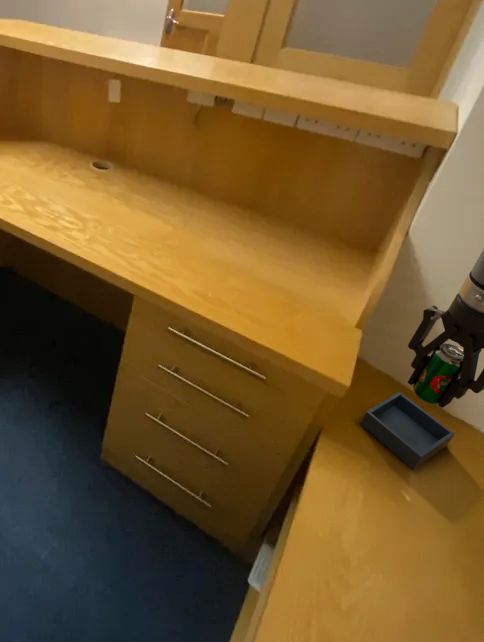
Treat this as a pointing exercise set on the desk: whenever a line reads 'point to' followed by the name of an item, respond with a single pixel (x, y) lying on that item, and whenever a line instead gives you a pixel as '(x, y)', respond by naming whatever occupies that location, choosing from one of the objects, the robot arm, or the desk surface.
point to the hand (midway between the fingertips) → (428, 392)
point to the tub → (406, 429)
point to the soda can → (439, 373)
